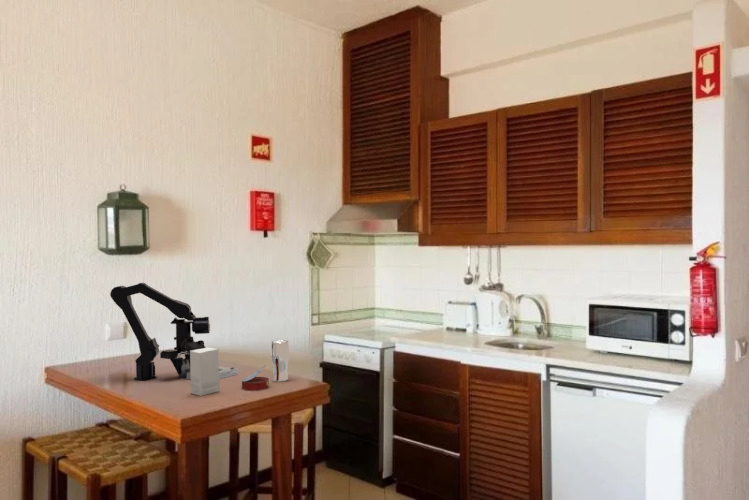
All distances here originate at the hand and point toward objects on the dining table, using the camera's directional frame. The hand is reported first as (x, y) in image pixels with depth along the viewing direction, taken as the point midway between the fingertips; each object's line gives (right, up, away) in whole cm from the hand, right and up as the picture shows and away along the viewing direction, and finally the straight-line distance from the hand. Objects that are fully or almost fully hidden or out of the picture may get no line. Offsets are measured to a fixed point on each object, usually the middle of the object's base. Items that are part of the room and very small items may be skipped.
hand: (184, 372), depth 241 cm
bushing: (0, -2, 0) cm, 2 cm away
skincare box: (+17, -2, -28) cm, 33 cm away
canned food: (+33, -1, -21) cm, 39 cm away
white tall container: (+40, -1, -9) cm, 41 cm away
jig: (+12, -1, 0) cm, 12 cm away
